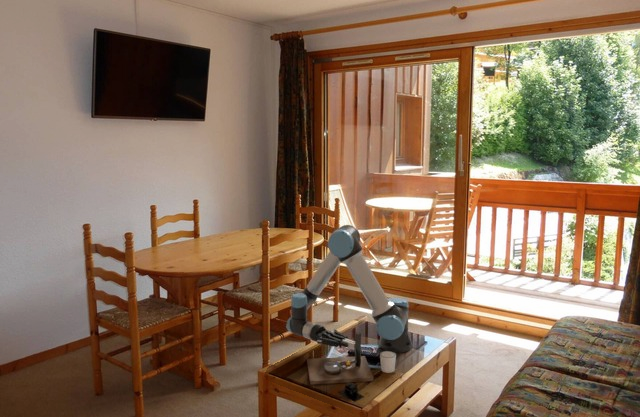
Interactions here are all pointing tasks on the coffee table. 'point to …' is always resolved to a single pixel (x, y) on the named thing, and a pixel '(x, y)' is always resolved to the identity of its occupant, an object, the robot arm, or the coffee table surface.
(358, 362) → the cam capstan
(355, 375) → the crank stand
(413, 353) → the coffee table surface
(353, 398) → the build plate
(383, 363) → the shot glass
